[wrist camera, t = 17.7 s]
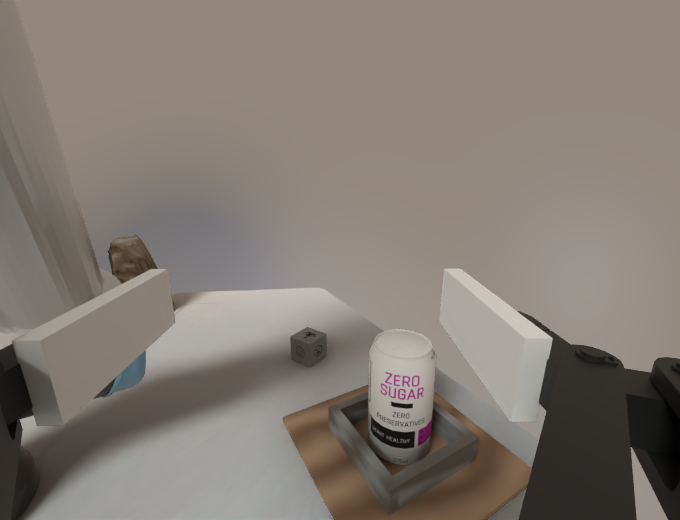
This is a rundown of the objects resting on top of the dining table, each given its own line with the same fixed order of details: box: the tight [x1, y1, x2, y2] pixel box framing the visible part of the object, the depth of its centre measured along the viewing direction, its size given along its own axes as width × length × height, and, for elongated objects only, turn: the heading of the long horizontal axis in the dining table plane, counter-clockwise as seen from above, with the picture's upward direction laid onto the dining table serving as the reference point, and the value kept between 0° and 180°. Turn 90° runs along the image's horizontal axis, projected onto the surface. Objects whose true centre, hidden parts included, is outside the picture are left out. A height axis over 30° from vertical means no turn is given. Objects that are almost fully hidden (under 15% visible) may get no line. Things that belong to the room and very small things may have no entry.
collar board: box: [283, 385, 532, 520], centre depth 42 cm, size 24×24×5 cm
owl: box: [108, 235, 175, 311], centre depth 81 cm, size 13×13×20 cm
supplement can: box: [368, 329, 437, 465], centre depth 41 cm, size 8×8×15 cm
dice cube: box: [290, 327, 326, 368], centre depth 63 cm, size 5×5×5 cm
